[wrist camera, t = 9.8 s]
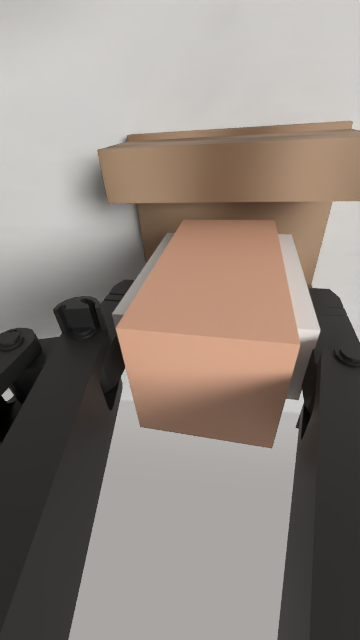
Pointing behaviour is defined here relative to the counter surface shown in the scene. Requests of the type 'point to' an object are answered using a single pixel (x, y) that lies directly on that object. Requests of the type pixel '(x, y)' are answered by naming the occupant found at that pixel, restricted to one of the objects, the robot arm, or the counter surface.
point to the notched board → (237, 179)
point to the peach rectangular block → (213, 334)
